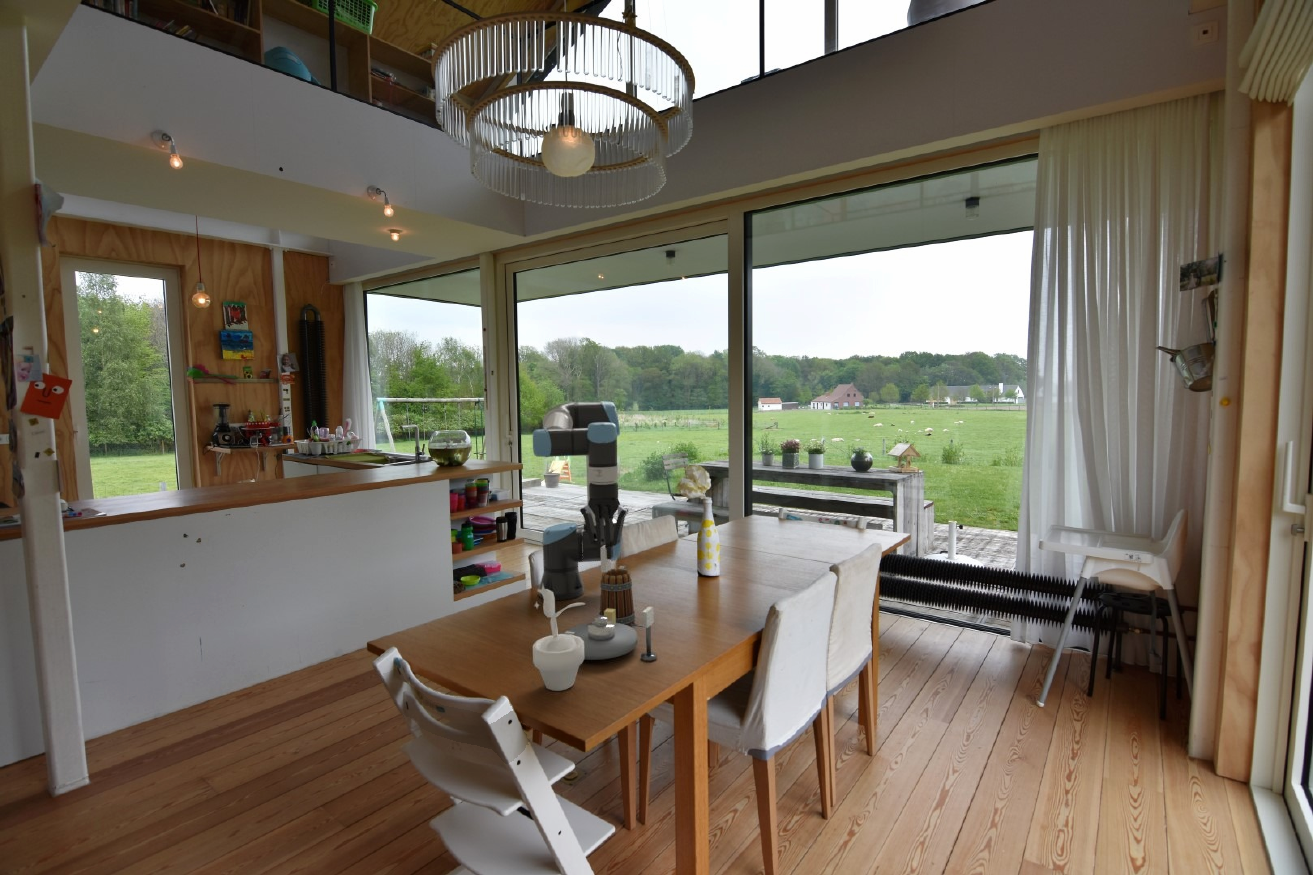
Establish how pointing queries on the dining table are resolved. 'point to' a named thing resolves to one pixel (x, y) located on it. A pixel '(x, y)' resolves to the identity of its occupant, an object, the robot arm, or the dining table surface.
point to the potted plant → (557, 650)
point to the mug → (618, 595)
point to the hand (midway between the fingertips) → (605, 570)
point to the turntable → (606, 649)
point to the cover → (601, 629)
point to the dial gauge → (647, 634)
